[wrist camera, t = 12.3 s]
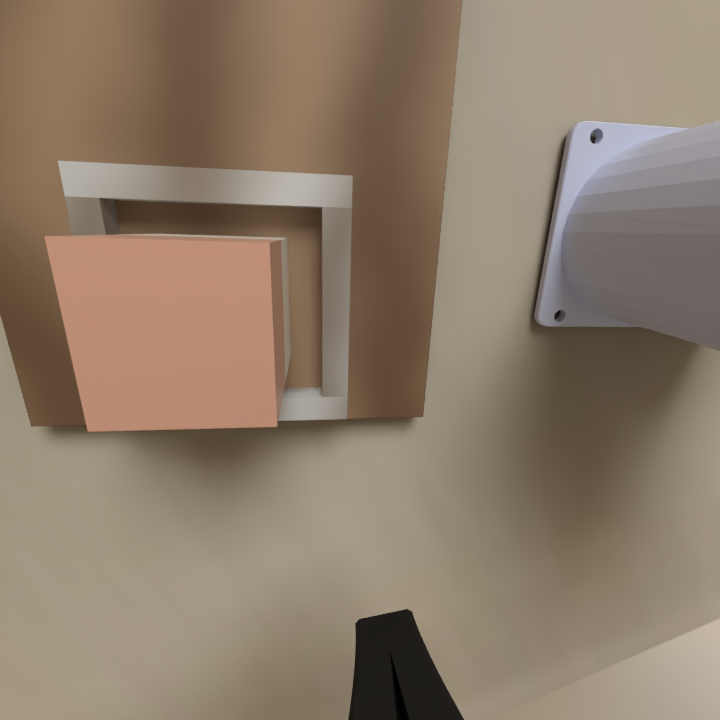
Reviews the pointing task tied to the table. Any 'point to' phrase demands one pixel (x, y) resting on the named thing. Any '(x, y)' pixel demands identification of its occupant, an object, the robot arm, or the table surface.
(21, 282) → the walnut board
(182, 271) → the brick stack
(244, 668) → the table surface
